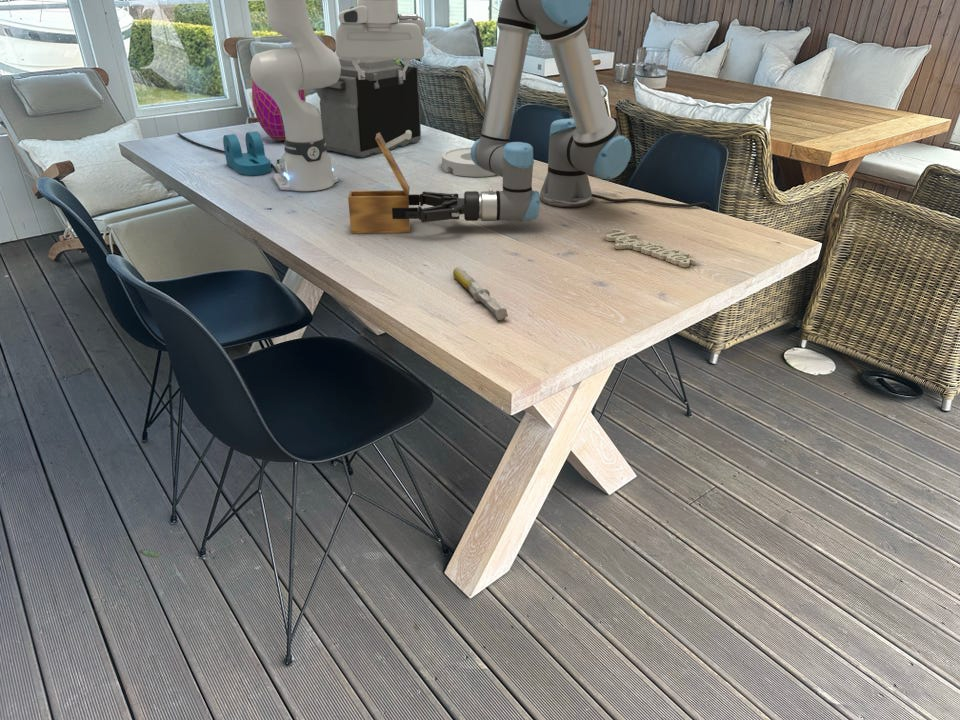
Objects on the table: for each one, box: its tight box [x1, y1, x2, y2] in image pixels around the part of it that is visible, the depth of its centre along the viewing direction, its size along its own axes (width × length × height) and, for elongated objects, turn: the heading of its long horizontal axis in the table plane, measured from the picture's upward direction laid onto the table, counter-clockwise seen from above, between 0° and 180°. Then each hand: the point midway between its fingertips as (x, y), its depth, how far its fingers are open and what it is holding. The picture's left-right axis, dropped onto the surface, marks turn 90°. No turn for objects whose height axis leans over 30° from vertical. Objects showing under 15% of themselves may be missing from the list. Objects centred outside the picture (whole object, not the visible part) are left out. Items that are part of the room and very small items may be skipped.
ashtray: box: [441, 146, 498, 178], centre depth 232 cm, size 23×23×4 cm
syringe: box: [452, 266, 509, 321], centre depth 145 cm, size 25×4×3 cm, turn 21°
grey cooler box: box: [314, 58, 422, 159], centre depth 250 cm, size 37×22×30 cm, turn 144°
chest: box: [347, 189, 411, 234], centre depth 178 cm, size 15×5×10 cm, turn 94°
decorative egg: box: [251, 78, 307, 142], centre depth 257 cm, size 19×19×30 cm
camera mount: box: [222, 131, 272, 176], centre depth 226 cm, size 18×10×10 cm, turn 35°
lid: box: [375, 130, 412, 195], centre depth 171 cm, size 16×5×8 cm
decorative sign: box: [605, 228, 696, 268], centre depth 169 cm, size 26×1×10 cm
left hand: (382, 79), depth 161 cm, fingers open, 8 cm apart
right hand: (393, 206), depth 177 cm, fingers open, 10 cm apart
